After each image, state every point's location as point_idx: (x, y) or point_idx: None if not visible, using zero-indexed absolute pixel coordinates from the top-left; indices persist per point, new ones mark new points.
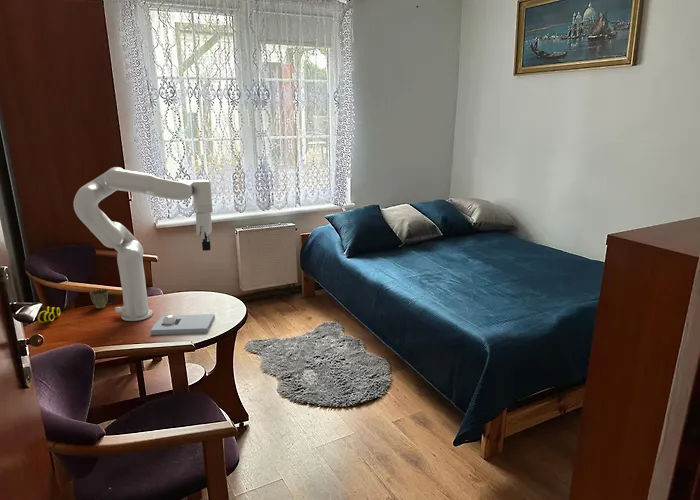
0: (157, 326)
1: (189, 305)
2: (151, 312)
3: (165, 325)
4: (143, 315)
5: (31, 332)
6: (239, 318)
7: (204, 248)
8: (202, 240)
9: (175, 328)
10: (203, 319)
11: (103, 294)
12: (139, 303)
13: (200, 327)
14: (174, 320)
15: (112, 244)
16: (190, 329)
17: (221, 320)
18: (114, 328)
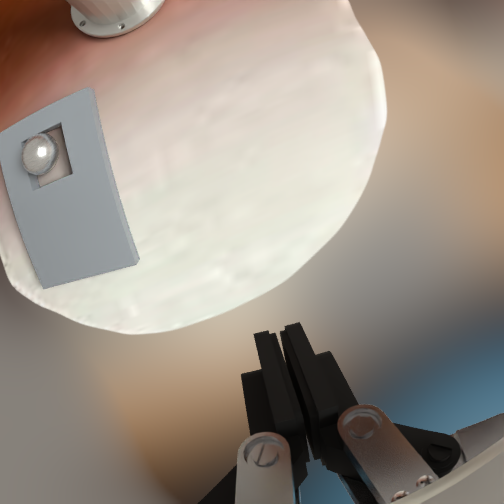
0: (14, 137)
1: (244, 107)
2: (125, 27)
3: None
4: (96, 23)
5: None
6: (160, 327)
7: (242, 377)
8: (240, 468)
9: (15, 200)
10: (86, 250)
11: None
12: (71, 4)
13: (40, 268)
14: (36, 174)
15: None
16: (26, 244)
17: (131, 285)
18: (35, 9)
